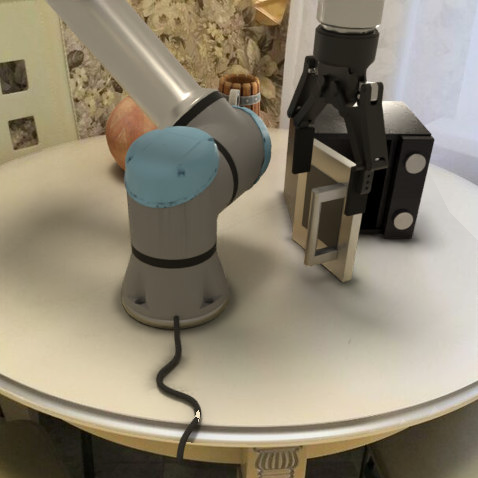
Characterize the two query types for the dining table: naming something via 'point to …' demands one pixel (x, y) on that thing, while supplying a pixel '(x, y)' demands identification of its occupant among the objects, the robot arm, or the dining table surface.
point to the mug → (241, 91)
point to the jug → (125, 128)
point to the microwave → (384, 180)
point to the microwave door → (326, 213)
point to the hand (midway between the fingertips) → (326, 191)
